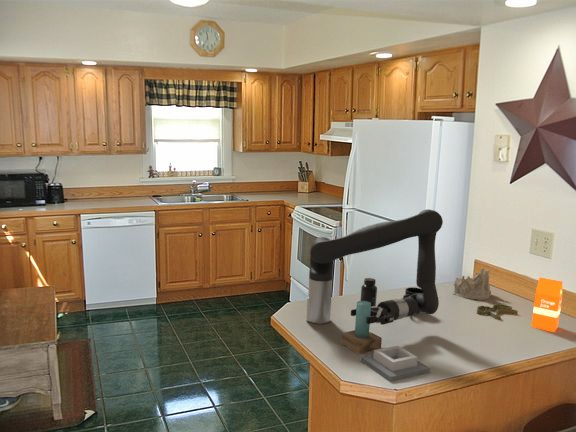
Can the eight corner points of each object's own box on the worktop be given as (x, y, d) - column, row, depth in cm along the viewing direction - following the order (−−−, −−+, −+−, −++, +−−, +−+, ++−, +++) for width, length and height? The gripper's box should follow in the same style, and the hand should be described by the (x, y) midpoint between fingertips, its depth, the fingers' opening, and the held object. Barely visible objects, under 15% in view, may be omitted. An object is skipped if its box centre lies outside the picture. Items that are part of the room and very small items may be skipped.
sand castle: (495, 294, 264) (496, 264, 261) (481, 303, 252) (481, 271, 250) (464, 288, 274) (465, 259, 272) (449, 296, 263) (449, 266, 260)
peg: (354, 337, 194) (356, 304, 192) (354, 332, 199) (356, 300, 197) (368, 338, 194) (371, 306, 192) (368, 333, 199) (370, 301, 196)
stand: (359, 354, 190) (360, 343, 190) (341, 343, 199) (341, 333, 198) (381, 348, 196) (381, 337, 195) (362, 338, 204) (363, 328, 203)
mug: (394, 312, 233) (396, 291, 232) (411, 307, 241) (413, 286, 239) (410, 318, 227) (412, 296, 226) (427, 312, 235) (429, 291, 233)
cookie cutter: (494, 321, 229) (494, 316, 229) (470, 312, 239) (471, 307, 238) (521, 314, 239) (521, 310, 238) (497, 306, 248) (498, 302, 248)
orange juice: (535, 321, 230) (541, 275, 226) (558, 326, 225) (564, 279, 221) (531, 326, 223) (537, 279, 220) (554, 332, 218) (561, 283, 215)
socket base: (390, 381, 171) (391, 367, 170) (360, 360, 185) (361, 348, 184) (429, 372, 179) (431, 359, 178) (398, 353, 193) (399, 340, 192)
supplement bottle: (375, 309, 236) (377, 282, 234) (359, 307, 237) (361, 280, 235) (376, 304, 243) (378, 277, 241) (360, 302, 244) (362, 276, 242)
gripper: (380, 294, 208) (346, 300, 199) (407, 306, 196) (373, 313, 188) (379, 313, 209) (345, 320, 201) (406, 326, 198) (371, 334, 189)
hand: (359, 317), depth 194 cm, fingers open, 8 cm apart
